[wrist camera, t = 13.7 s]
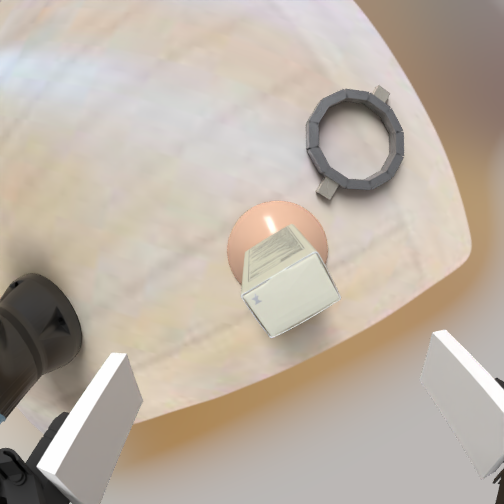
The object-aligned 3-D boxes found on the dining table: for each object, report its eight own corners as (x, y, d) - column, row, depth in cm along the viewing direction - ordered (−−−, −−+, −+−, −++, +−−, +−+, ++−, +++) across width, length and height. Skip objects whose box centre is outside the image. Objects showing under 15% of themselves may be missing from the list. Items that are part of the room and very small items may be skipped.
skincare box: (264, 283, 33) (267, 343, 21) (243, 251, 32) (234, 297, 20) (314, 254, 32) (344, 300, 20) (294, 220, 31) (317, 250, 19)
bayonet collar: (360, 220, 31) (366, 223, 30) (278, 169, 30) (279, 169, 28) (416, 119, 28) (423, 116, 26) (341, 64, 27) (346, 59, 25)
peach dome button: (293, 311, 34) (293, 314, 34) (210, 268, 33) (209, 269, 32) (344, 233, 32) (346, 234, 31) (259, 181, 30) (259, 182, 30)
